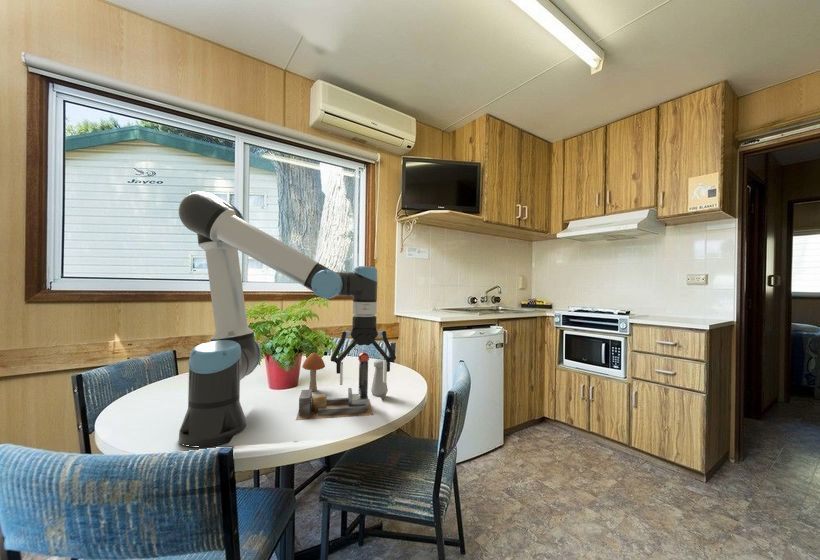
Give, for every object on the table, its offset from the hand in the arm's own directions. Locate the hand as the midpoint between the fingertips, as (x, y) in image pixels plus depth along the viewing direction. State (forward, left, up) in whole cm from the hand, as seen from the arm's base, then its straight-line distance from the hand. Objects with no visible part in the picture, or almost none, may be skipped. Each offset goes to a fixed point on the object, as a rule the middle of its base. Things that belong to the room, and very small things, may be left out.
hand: (363, 383), depth 106 cm
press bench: (-8, 0, -9) cm, 12 cm away
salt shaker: (+7, +12, -9) cm, 16 cm away
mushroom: (-16, +19, -9) cm, 27 cm away
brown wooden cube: (-13, 0, -7) cm, 15 cm away
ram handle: (-1, 0, -7) cm, 7 cm away
